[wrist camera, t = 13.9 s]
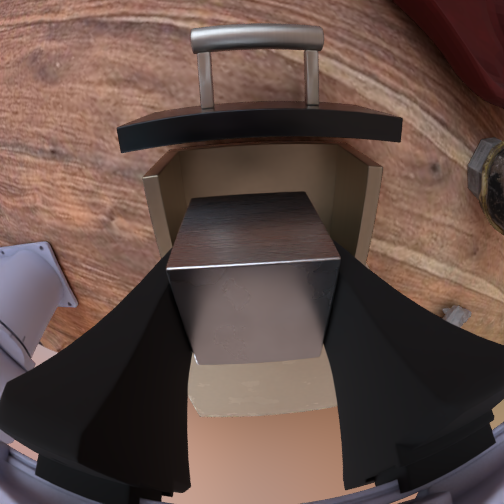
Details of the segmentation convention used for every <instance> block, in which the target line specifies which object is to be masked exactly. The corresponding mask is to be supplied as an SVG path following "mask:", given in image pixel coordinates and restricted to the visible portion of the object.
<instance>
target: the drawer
mask: <svg viewBox="0 0 504 504" xmlns="http://www.w3.org/2000/svg"><path fill="white" fill-rule="evenodd" d="M323 45H324V33H323V29H322V28H321V27H320V26H311V25H299V24H276V23H255V24H232V25H219V26H209V27H201V28H194V29H192V30H191V47H192V51H193V53H194V54H197V60H198V75H199V88H200V101H201V106H195V107H187V108H180V109H173V110H167V111H161V112H155V113H152V114H150V115H147V116H144V117H142V118H139V119H136V120H134V121H131V122H129V123H127V124H124V125H122V126H119V127H117V133H118V139H119V145H120V151H121V153H126V152H131V151H136V150H142V149H148V148H154V147H161V146H167V145H175V144H182V143H191V142H200V141H210V140H221V139H234V138H252V137H284V136H308V137H340V138H357V139H370V140H381V141H390V142H401V133H402V121H403V119H402V118H401V117H397V116H394V115H391V114H387V113H384V112H380V111H377V110H373V109H369V108H365V107H361V106H357V105H351V104H340V103H326V102H319V64H318V51H321V50H322V48H323ZM248 49H291V50H305V51H304V80H305V101H259V102H238V103H224V104H214V90H213V75H212V60H211V53H210V52H218V51H230V50H248ZM382 172H383V167H382V166H381V165H379V164H378V163H376V162H375V161H373V160H372V159H370V158H369V157H367V156H366V155H364V154H363V153H361V152H360V151H358V150H357V149H355V148H354V147H352V146H350V145H349V144H347V143H345V142H329V141H268V142H245V143H230V144H217V145H206V146H196V147H187V148H179V149H172V150H169V151H168V152H167V153H166V154H165V155H164V156H163V157H162V158H161V159H160V160H159V161H158V162H157V163H156V164H155V165H154V166H153V167H152V168H151V169H150V170H149V171H148V172H147V173H146V174H145V175H144V176H143V177H142V180H143V185H144V190H145V194H146V199H147V203H148V208H149V212H150V217H151V221H152V225H153V229H154V233H155V237H156V241H157V245H158V249H159V252H160V256H161V259H162V258H163V257H164V256H165V254H166V253H167V252H168V251H169V250H170V249H171V248H172V247H173V246H174V243H175V240H176V237H177V234H178V232H179V229H180V226H181V223H182V221H183V218H184V215H185V213H186V210H187V207H188V205H189V202H190V200H191V198H199V197H211V196H224V195H238V194H254V193H274V192H300V191H304V192H306V193H307V195H308V197H309V199H310V201H311V202H312V204H313V206H314V208H315V210H316V211H317V213H318V215H319V217H320V219H321V221H322V222H323V224H324V226H325V228H326V230H327V232H328V234H329V236H330V238H332V239H333V240H334V241H336V242H337V243H338V244H339V245H341V246H342V247H343V248H344V249H345V250H347V251H348V252H349V253H350V254H351V255H353V256H354V257H355V258H356V259H357V260H359V261H360V262H361V263H362V264H363V265H365V264H366V260H367V256H368V251H369V247H370V242H371V237H372V232H373V227H374V222H375V217H376V211H377V205H378V199H379V193H380V186H381V179H382Z"/></svg>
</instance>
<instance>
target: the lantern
mask: <svg viewBox="0 0 504 504" xmlns="http://www.w3.org/2000/svg"><path fill="white" fill-rule="evenodd" d="M468 188H469V190H470V191H471V192H472V193H473V194H474V195H475V196H476V198H477V199H478V200H479V204H480V206H481V208H482V210H483V212H484V214H485V216H486V218H487V219H488V221H489V223H490V224H491V225H492V226H493V228H494V229H496V230H497V231H498V232H499V233H501V234H502V235H504V141H501V140H499V139H497V138H495V137H493V138H487V139H482V140H481V141H480V143H479V145H478V147H477V149H476V151H475V153H474V155H473V157H472V159H471V160H470V162H469V164H468Z"/></svg>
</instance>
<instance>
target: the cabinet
mask: <svg viewBox="0 0 504 504" xmlns="http://www.w3.org/2000/svg"><path fill="white" fill-rule="evenodd" d="M365 266H366V267H367V268H368V269H369V267H368V265H367V264H365ZM369 270H370V269H369ZM188 397H189V398H190V400H191V402H192V404H193V405H194V407H195V409H196V411H197V412H198V414H199V416H200V417H241V416H242V417H244V416H262V415H276V414H286V413H295V412H304V411H311V410H318V409H324V408H330V407H336V406H337V399H336V393H335V387H334V381H333V376H332V371H331V367H330V363H329V360H328V357H327V354H326V350H325V347H324V344H323V346H322V350H321V354H320V357H315V358H307V359H298V360H288V361H277V362H264V363H248V364H224V365H198V364H197V362H196V360H195V357H194V354H193V353H192V359H191V365H190V371H189V380H188Z"/></svg>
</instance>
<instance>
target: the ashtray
mask: <svg viewBox="0 0 504 504" xmlns="http://www.w3.org/2000/svg"><path fill="white" fill-rule="evenodd" d="M393 1H394V2H395V3H396V4H397V5H398V6H399V7H400V8H401V9H402V10H403V11H404V12H405V13H406V14H407V15H408V16H409V17H410V18H411V19H412V20H413V21H414V22H415V23H416V24H417V25H418V26H419V27H420V28H421V29H422V30H423V31H424V32H425V33H426V34H427V35H428V36H429V37H430V39H431V40H432V41H433V42H434V43H435V45H436V46H437V47H438V48H439V50H440V51H441V52H442V54H443V55H444V57H445V58H446V60H447V61H448V63H449V64H450V66H451V67H452V68H453V70H454V71H455V73H456V74H457V76H458V77H459V78H460V79H461V80H462V81H463V82H464V83H465V84H466V86H467V87H469V88H470V89H471V90H472V91H473V92H474V93H475V94H476V95H478V96H479V97H480V98H482V99H483V100H485V101H487V102H489V103H491V104H493V105H496V106H498V107H501V108H503V109H504V0H393Z"/></svg>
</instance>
